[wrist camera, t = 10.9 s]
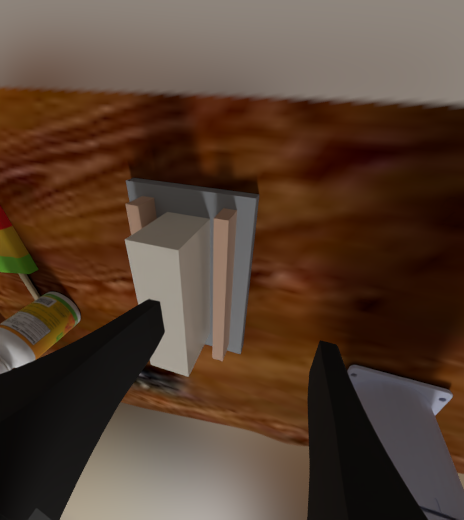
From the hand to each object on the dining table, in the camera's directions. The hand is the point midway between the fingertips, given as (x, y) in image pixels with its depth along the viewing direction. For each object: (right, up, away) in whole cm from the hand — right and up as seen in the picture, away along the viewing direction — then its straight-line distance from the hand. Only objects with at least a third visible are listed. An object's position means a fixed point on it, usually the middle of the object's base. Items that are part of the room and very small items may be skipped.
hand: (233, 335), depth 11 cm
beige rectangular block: (-4, +2, +10) cm, 11 cm away
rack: (-3, +2, +11) cm, 12 cm away
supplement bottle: (-22, -3, +21) cm, 30 cm away
